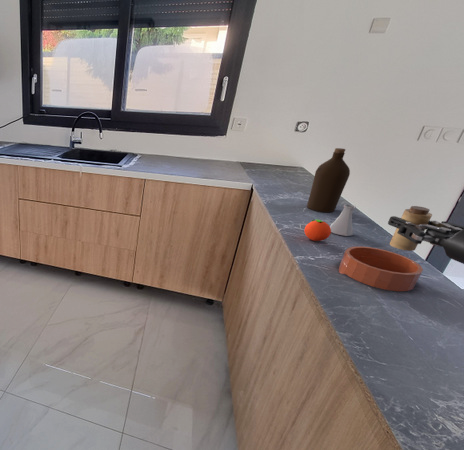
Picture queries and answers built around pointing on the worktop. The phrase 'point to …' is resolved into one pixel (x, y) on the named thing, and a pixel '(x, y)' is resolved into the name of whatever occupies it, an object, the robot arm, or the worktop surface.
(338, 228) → the flask
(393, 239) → the pepper mill
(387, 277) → the pot
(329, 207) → the olive oil
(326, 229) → the clementine
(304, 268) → the worktop surface
